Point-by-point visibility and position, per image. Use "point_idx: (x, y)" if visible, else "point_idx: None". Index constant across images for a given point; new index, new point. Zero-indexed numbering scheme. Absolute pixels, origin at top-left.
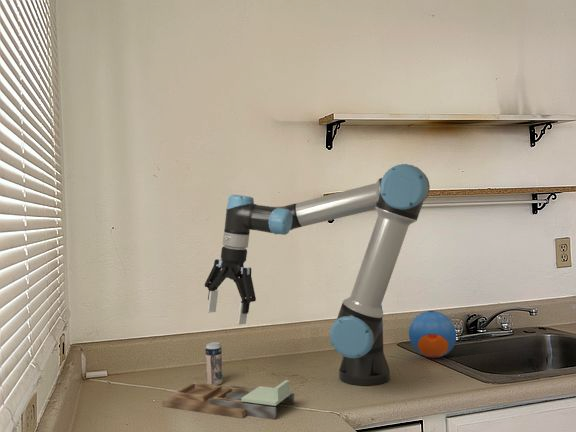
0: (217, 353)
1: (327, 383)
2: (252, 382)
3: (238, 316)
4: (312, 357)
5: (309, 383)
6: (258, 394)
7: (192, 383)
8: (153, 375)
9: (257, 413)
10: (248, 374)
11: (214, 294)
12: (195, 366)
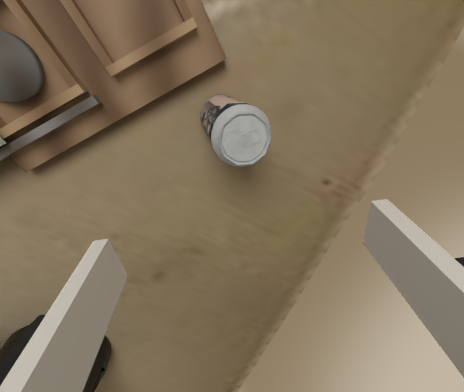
0: (209, 132)
1: None
2: (170, 191)
3: (85, 275)
4: (231, 337)
5: None
6: None
7: (192, 17)
8: (400, 25)
9: None
10: (227, 211)
11: (459, 332)
12: (365, 151)
